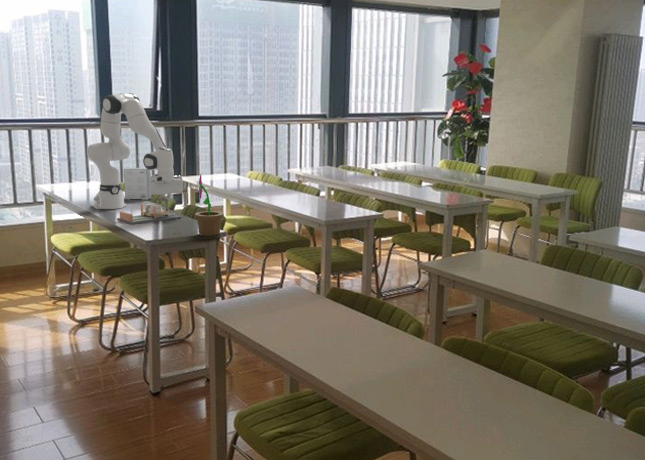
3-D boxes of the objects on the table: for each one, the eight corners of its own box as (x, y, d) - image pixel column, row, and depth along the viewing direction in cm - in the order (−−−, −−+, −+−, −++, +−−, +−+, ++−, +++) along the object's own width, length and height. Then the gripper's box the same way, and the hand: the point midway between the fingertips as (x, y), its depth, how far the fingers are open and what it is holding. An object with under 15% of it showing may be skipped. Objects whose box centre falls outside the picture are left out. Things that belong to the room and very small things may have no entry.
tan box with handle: (142, 215, 394) (141, 198, 392) (160, 213, 401) (159, 196, 400) (151, 218, 387) (150, 200, 385) (169, 216, 394) (168, 198, 392)
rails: (122, 219, 385) (122, 217, 385) (168, 213, 404) (168, 211, 403) (129, 221, 380) (129, 219, 379) (175, 215, 398) (175, 213, 398)
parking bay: (118, 218, 388) (117, 205, 387) (142, 215, 397) (142, 202, 396) (131, 222, 376) (131, 209, 375) (156, 219, 386) (156, 206, 385)
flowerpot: (196, 230, 363) (195, 172, 357) (224, 230, 364) (223, 172, 358) (193, 236, 349) (192, 176, 343) (222, 236, 350) (221, 176, 344)
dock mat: (117, 219, 388) (116, 218, 388) (165, 213, 408) (165, 212, 408) (131, 224, 376) (131, 222, 376) (181, 218, 395) (181, 216, 395)
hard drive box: (152, 198, 462) (150, 167, 458) (148, 200, 455) (146, 169, 451) (128, 197, 464) (127, 167, 459) (124, 199, 456) (123, 168, 452)
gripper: (179, 174, 404) (179, 198, 407) (146, 177, 390) (147, 202, 393) (185, 175, 399) (185, 200, 402) (152, 178, 386) (153, 203, 388)
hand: (166, 201), depth 397 cm, fingers closed
